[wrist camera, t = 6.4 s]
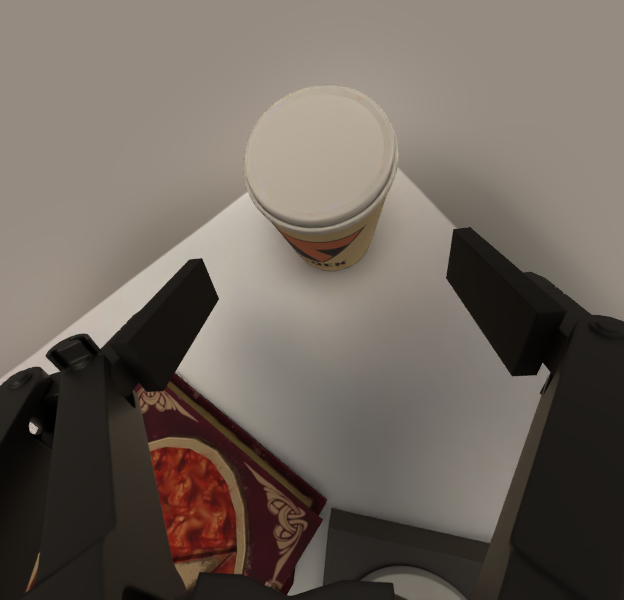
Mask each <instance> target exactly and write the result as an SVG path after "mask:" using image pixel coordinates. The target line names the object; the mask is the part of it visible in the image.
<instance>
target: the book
mask: <svg viewBox="0 0 624 600" xmlns="http://www.w3.org/2000/svg"><path fill="white" fill-rule="evenodd" d="M134 391H135V392H136V394H137V395H138V397H139V402H140V407H141V412H142V417H143V421H144V426H145V431H146V436H147V440H148V445H149V450H150V455H151V460H152V464H153V469H154V474H155V479H156V484H157V488H158V493H159V498H160V503H161V507H162V512H163V517H164V522H165V527H166V531H167V536H168V541H169V546H170V550H171V555H172V559H173V563H174V565H175V567H176V569H177V571H178V573H179V574H180V576H181V578H182V580H183V582H184V584H185V587H186V590H187V589H189V588H191V587H193V586H195V585H196V581H197V578H198V574H199V572H211V573H229V574H244V575H246V576H248V577H250V578H252V579H254V580H256V581H258V582H260V583H262V584H264V585H266V586H268V587H270V588H272V589H274V590H276V591H279V592H281V593H283V594H285V595H287V594H288V592H289V590H290V588H291V587H292V585H293V582H294V572H295V566H296V564H297V562H298V560H299V559H300V557H301V555H302V554H303V552H304V550H305V549H306V547H307V546H308V544H309V542H310V541H311V539H312V537H313V536H314V534H315V532H316V531H317V529H318V527H319V526H320V524H321V522H322V521H323V519H322V518H321V517H319V516H318V515H319V514H320V512H321V510H322V509H323V507H324V506H325V504H326V502H327V499H326V498H325V497H323V496H322V495H321V494H320V493H319V492H317V491H316V490H315V489H314V488H312V487H311V486H310V485H309V484H308V483H306V482H305V481H304V480H303V479H302V478H300V477H299V476H298V475H297V474H296V473H294V472H293V471H292V470H291V469H290V468H288V467H287V466H286V465H285V464H284V463H282V462H281V461H280V460H279V459H277V458H276V457H275V456H274V455H273V454H271V453H270V452H269V451H268V450H267V449H265V448H264V447H263V446H262V445H261V444H259V443H258V442H257V441H256V440H255V439H253V438H252V437H251V436H250V435H249V434H247V433H246V432H245V431H244V430H243V429H241V428H240V427H239V426H238V425H236V424H235V423H234V422H233V421H232V420H230V419H229V418H228V417H227V416H226V415H224V414H223V413H222V412H221V411H220V410H218V409H217V408H216V407H215V406H214V405H212V404H211V403H210V402H209V401H208V400H206V399H205V398H204V397H203V396H201V395H200V394H199V393H198V392H197V391H195V390H194V389H193V388H192V387H191V386H189V385H188V384H187V383H186V382H185V381H183V380H182V379H181V378H180V377H179V376H177V375H176V374H175V373H174V374H173V376H172V378H171V379H170V381H169V383H168V384H167V386H166V388H165V389H164V391H161V392H146V391H145V390H144V388H143V387H142V386H141V385H140V383H138V385H137V386H136V388H135V389H134ZM39 555H40V552H39ZM39 555H38V558H37V561H36V563H35V566H34V569H33V572H32V575H31V578H30V581H29V584H28V587H27V590H26V592H27V591H28V590H30V589H31V588H32V587H33V585H34V584H35V581H36V577H37V571H38V563H39Z"/></svg>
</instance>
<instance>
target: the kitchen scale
mask: <svg viewBox="0 0 624 600" xmlns="http://www.w3.org/2000/svg"><path fill="white" fill-rule="evenodd" d="M489 546H490V544H489V543H484V542H480V541H475V540H471V539H466V538H462V537H457V536H453V535H448V534H444V533H439V532H435V531H430V530H426V529H421V528H417V527H412V526H408V525H403V524H399V523H394V522H390V521H385V520H381V519H376V518H372V517H367V516H363V515H358V514H354V513H349V512H345V511H340V510H336V509H331V515H330V521H329V529H328V539H327V550H326V560H325V570H324V581H323V586H325V585H328V584H331V583H334V582H337V581H340V580H354V581H372V582H390V583H393V585H394V593H395V594H397V595H399V596H401V597H404V598H406V599H408V600H469V598H470V596H471V593H472V591H473V589H474V587H475V585H476V582H477V580H478V577H479V575H480V572H481V569H482V566H483V563H484V560H485V558H486V555H487V552H488V549H489Z"/></svg>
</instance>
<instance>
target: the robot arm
mask: <svg viewBox="0 0 624 600" xmlns="http://www.w3.org/2000/svg"><path fill="white" fill-rule="evenodd" d="M446 279H447V280H448V282H449V283H450V285H451V286H452V287H453V289H454V290H455V292H456V293H457V295H458V296H459V298H460V299H461V301H462V302H463V304H464V305H465V307H466V308H467V310H468V311H469V313H470V314H471V316H472V317H473V319H474V320H475V322H476V323H477V325H478V326H479V328H480V329H481V331H482V332H483V334H484V335H485V337H486V338H487V340H488V341H489V343H490V344H491V346H492V347H493V349H494V350H495V352H496V353H497V355H498V356H499V358H500V359H501V361H502V362H503V364H504V365H505V367H506V368H507V369H508V371H509V372H510V374H511V375H512V376H529V375H537V373H538V371H539V369H540V367H541V365H542V363H544V365H545V366H546V367H547V368H548V370H549V371H550V374H549V376H548V378H547V380H546V382H545V384H544V386H543V388H542V390H541V392H540V394H542V395H541V398H540V401H539V404H538V407H537V410H536V412H535V415H534V418H533V421H532V424H531V427H530V430H529V433H528V436H527V439H526V441H525V444H524V447H523V450H522V453H521V456H520V459H519V462H518V465H517V468H516V470H515V473H514V476H513V479H512V482H511V485H510V488H509V491H508V494H507V497H506V499H505V502H504V505H503V508H502V511H501V514H500V517H499V520H498V523H497V526H496V528H495V531H494V534H493V537H492V540H491V543H490V546H489V549H488V552H487V555H486V558H485V560H484V563H483V566H482V569H481V572H480V575H479V577H478V580H477V582H476V585H475V587H474V589H473V591H472V593H471V596H470V598H469V600H624V322H623V321H621V320H618V319H615V318H612V317H607V316H601V315H591V314H590V313H589V312H587V311H586V310H585V309H584V308H582V307H581V306H580V305H579V304H577V303H576V302H575V301H574V300H572V299H571V298H570V297H569V296H567V295H566V294H563V292H562V291H561V290H559V289H558V288H557V287H556V288H555V285H553V284H552V283H551V282H549V281H548V280H547V279H546V278H544V277H542V276H539V275H537V274H535V273H532V272H525V273H523V272H522V271H520V270H519V269H518V268H517V267H516V266H515V265H514V264H512V263H511V262H510V261H509V260H508V259H506V258H505V257H504V256H503V255H502V254H500V252H498V251H497V250H496V249H495V248H494V247H493V246H491V245H490V244H489V243H488V242H487V241H486V240H484V239H483V238H482V237H481V236H480V235H479V234H477V233H476V232H475V231H474V230H473V229H472V228H470V227H469V228H462V229H461V228H460V229H453V236H452V242H451V249H450V256H449V263H448V269H447V276H446ZM218 300H219V298H218V295H217V293H216V291H215V288H214V286H213V283H212V281H211V279H210V276H209V274H208V271H207V269H206V267H205V264H204V262H203V259H202V258H200V259H191V260H188V261H187V263H186V264H185V265H184V266H183V267H182V268H181V269H180V270H179V271H178V272H177V273H176V274H175V275H174V276H173V277H172V278H171V279H170V280H169V281H168V282H167V283H166V284H165V285H164V286H163V287H162V289H161V290H160V291H159V292H158V293H157V294H156V295H155V296H154V297H153V298H152V299H151V300H150V301H149V302H148V303H147V304H146V305H145V306H144V307H143V308H142V309H141V310H140V311H139V312H137V313H136V314H134V315H133V316H132V317H131V318H130V319H129V320H128V321H127V322H126V323H127V324H125V325H124V326H123V327H122V328H121V330H119V331H118V332H117V333H116V334H115V335H114V336H113V337H112V338H111V339H110V340H109V341H108V342H107V343H106V344H105V345H104V346H103V347H102V348H101V349H100V348H99V347H98V346H97V345H96V344H95V342H94V341H93V340H92V339H91V337H90V336H89V335H88V334H77V335H74V336H71V337H69V338H67V339H65V340H63V341H61V342H59V343H58V344H56V345H55V346H53V347H52V348H51V349H50V350H49V351H48V352H47V354H46V357H47V358H48V359H49V360H50V361H51V362H52V363H53V364H54V365H55V366H56V367H57V368H58V369H59V370H60V371H61V372H57V373H54V374H51V375H48V374H47V373H46V372H45V371H44V370H43V369H42V368H41V367H32V368H28V369H26V370H23V371H20V372H18V373H16V374H14V375H12V376H11V377H10V378H9V379H8V380H6V381H5V382H4V383H3V384H2V385H1V386H0V600H408V599H406V598H404V597H401V596H399V595H397V594H395V593H394V585H393V583H390V582H372V581H354V580H340V581H337V582H334V583H331V584H328V585H325V586H322V587H318V588H315V589H312V590H309V591H306V592H303V593H300V594H297V595H293V596H288V595H285V594H283V593H281V592H279V591H276V590H274V589H272V588H270V587H268V586H266V585H264V584H262V583H260V582H258V581H256V580H254V579H252V578H250V577H248V576H246V575H244V574H229V573H211V572H199V574H198V578H197V581H196V585H195V586H193V587H191V588H189V589H187V590H186V587H185V584H184V582H183V580H182V578H181V576H180V574H179V573H178V571H177V569H176V567H175V565H174V563H173V559H172V555H171V550H170V546H169V541H168V536H167V531H166V527H165V522H164V517H163V512H162V507H161V503H160V498H159V493H158V488H157V484H156V479H155V474H154V469H153V464H152V460H151V455H150V450H149V445H148V440H147V436H146V431H145V426H144V421H143V417H142V412H141V407H140V402H139V397H138V395H137V394H136V392H135V391H134V389H135V388H136V386H137V385H138V383H140V385H141V386H142V387H143V388H144V390H145V391H146V392H161V391H164V389H165V388H166V386H167V384H168V383H169V381H170V379H171V378H172V376H173V374H174V373H175V371H176V369H177V368H178V366H179V364H180V363H181V361H182V360H183V358H184V356H185V355H186V353H187V351H188V350H189V348H190V346H191V345H192V343H193V341H194V340H195V338H196V336H197V335H198V333H199V331H200V330H201V328H202V326H203V325H204V323H205V321H206V320H207V318H208V316H209V315H210V313H211V311H212V310H213V308H214V306H215V305H216V303H217V302H218ZM30 422H31V423H33V424H34V425H35V426H37V427H38V430H37V432H36V434H35V435H34V434H32V433H31V432H30V430H29V423H30ZM39 552H40V555H39ZM38 555H39V563H38V571H37V577H36V581H35V584H34V585H33V587H32V588H31V589H30V590H28V591H27V592H26V590H27V587H28V584H29V581H30V578H31V575H32V572H33V569H34V566H35V563H36V561H37V558H38Z"/></svg>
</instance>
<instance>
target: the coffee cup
mask: <svg viewBox="0 0 624 600" xmlns="http://www.w3.org/2000/svg"><path fill="white" fill-rule="evenodd" d="M397 165H398V143H397V139H396V135H395V132H394V130H393V127H392V126H391V123H390V121H389V120H388V118H387V116H386V114H385V113H384V111H383V110H382V109H381V107H380V106H379V105H378V104H377V103H375V101H373V100H372V99H371V98H369V97H368V96H366V95H365V94H363V93H361V92H358V91H356V90H354V89H351V88H347V87H343V86H337V85H319V86H312V87H307V88H304V89H301V90H298V91H295V92H293V93H291V94H289V95H287V96H285V97H283V98H282V99H280V100H278V101H277V102H276V103H275V104H273V105H272V106H271V107H270V108H269V109H267V110H266V111H265V113H264V114H263V115H262V116H261V117H260V119H259V120H258V121H257V123H256V124H255V126H254V128H253V129H252V131H251V134H250V135H249V138H248V141H247V144H246V149H245V155H244V178H245V184H246V187H247V190H248V193H249V195H250V197H251V199H252V201H253V203H254V204H255V206H256V207H257V208H258V209H259V211H260V212H261V213H262V214H263V215H264V216H265V217H266V218H267V219H269V220H270V221H271V222H272V223H273V225H274V226H275V227H276V228H277V229H278V231H279V232H280V233H281V234H282V235H283V237H284V238H285V239H286V240H287V241H288V242H289V244H290V245H291V246H292V247H293V248H294V249H295V250H296V252H297V253H298V254H299V255H300V256H301V257H302V258H303V259H304V260H305V261H306V262H307V263H308V264H310V265H312V266H313V267H316V268H318V269H321V270H326V271H336V270H341V269H345V268H347V267H350V266H351V265H353V264H355V263H356V262H357V261H358V260H360V259H361V258H362V256H363V255H364V254H365V252H366V251H367V249H368V247H369V245H370V242H371V240H372V237H373V234H374V231H375V228H376V225H377V222H378V219H379V217H380V214H381V211H382V207H383V204H384V201H385V198H386V195H387V193H388V191H389V189H390V187H391V185H392V182H393V180H394V177H395V174H396V170H397Z"/></svg>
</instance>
